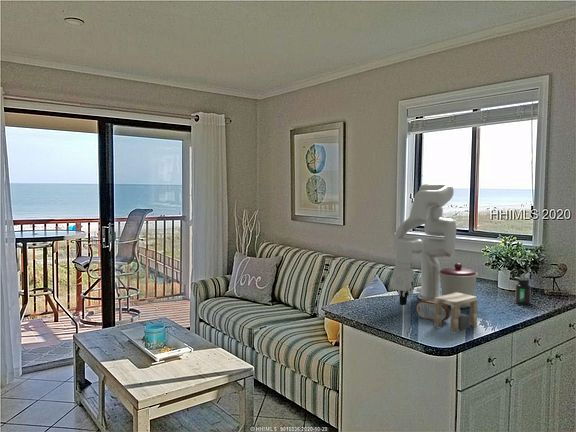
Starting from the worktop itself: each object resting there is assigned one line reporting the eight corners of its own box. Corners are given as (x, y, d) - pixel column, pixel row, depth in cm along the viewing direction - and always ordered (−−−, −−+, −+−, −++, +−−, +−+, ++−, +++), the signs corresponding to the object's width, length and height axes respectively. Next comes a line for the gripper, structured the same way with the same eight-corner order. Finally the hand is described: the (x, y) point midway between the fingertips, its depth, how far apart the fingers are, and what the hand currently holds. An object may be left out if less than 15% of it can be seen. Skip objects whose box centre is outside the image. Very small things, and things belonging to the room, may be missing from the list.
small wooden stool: (434, 326, 190) (434, 297, 189) (456, 320, 198) (456, 292, 197) (455, 332, 181) (455, 302, 181) (476, 325, 190) (477, 296, 189)
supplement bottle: (523, 305, 220) (524, 281, 219) (512, 302, 226) (512, 278, 225) (533, 304, 222) (534, 280, 222) (522, 300, 229) (522, 277, 228)
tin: (450, 322, 196) (450, 303, 195) (447, 323, 193) (447, 304, 193) (417, 315, 206) (417, 297, 205) (414, 317, 203) (414, 299, 203)
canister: (481, 311, 211) (481, 267, 210) (441, 309, 215) (441, 266, 213) (473, 301, 229) (474, 260, 227) (436, 300, 232) (436, 259, 231)
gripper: (386, 264, 215) (385, 302, 216) (411, 268, 203) (410, 309, 204) (397, 263, 219) (396, 300, 220) (421, 267, 207) (421, 306, 208)
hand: (403, 304), depth 212 cm, fingers closed
